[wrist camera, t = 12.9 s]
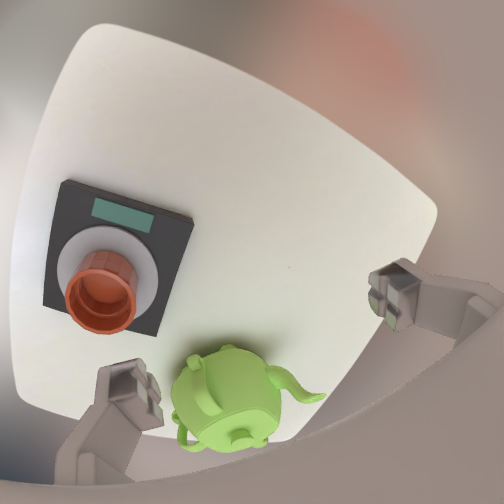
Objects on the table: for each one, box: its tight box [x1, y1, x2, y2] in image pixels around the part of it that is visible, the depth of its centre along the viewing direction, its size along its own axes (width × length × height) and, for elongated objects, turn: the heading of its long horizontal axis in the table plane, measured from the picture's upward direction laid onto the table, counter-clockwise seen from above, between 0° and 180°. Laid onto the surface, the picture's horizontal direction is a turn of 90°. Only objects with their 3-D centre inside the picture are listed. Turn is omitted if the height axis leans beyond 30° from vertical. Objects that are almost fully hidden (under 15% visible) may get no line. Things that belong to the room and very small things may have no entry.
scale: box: [43, 180, 194, 337], centre depth 28 cm, size 14×14×3 cm
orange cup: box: [65, 251, 138, 335], centre depth 25 cm, size 7×7×5 cm
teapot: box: [171, 344, 327, 453], centre depth 34 cm, size 16×14×13 cm
